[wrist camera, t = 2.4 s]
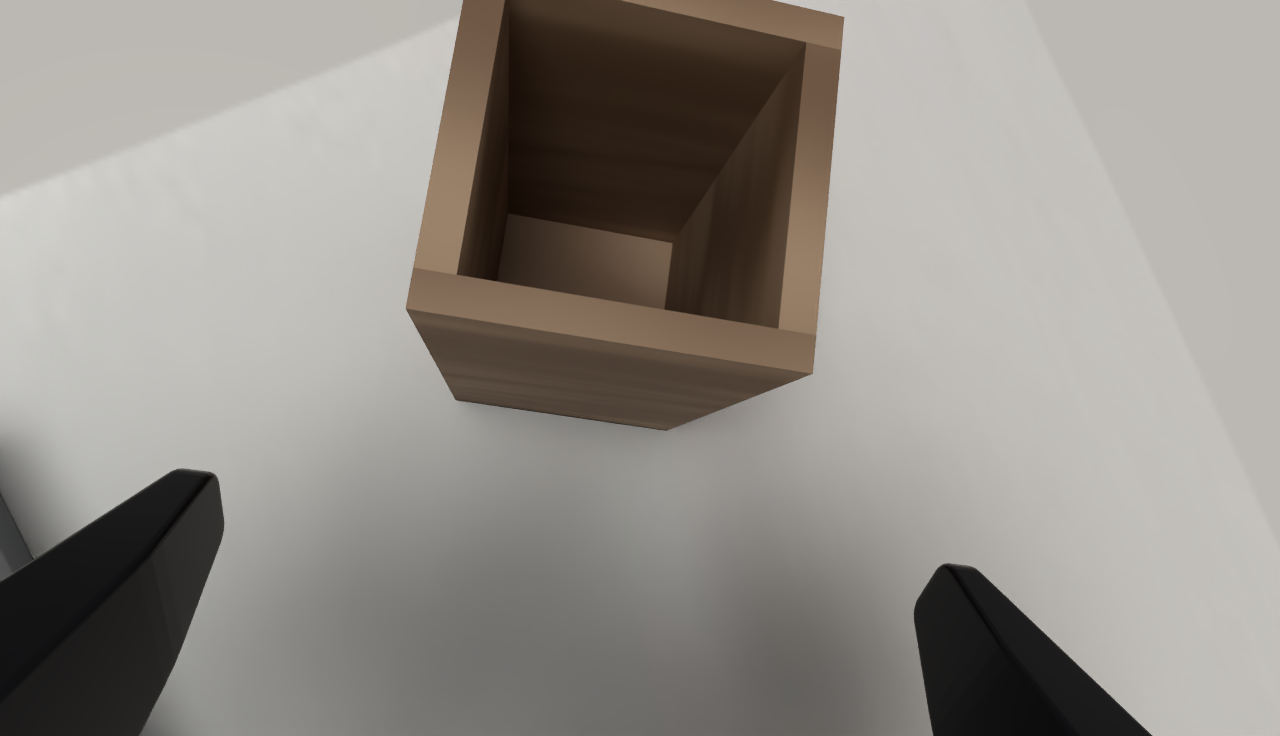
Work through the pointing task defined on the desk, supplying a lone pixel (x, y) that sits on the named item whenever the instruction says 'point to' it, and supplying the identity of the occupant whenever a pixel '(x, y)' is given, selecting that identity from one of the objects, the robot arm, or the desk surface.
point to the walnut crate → (628, 205)
